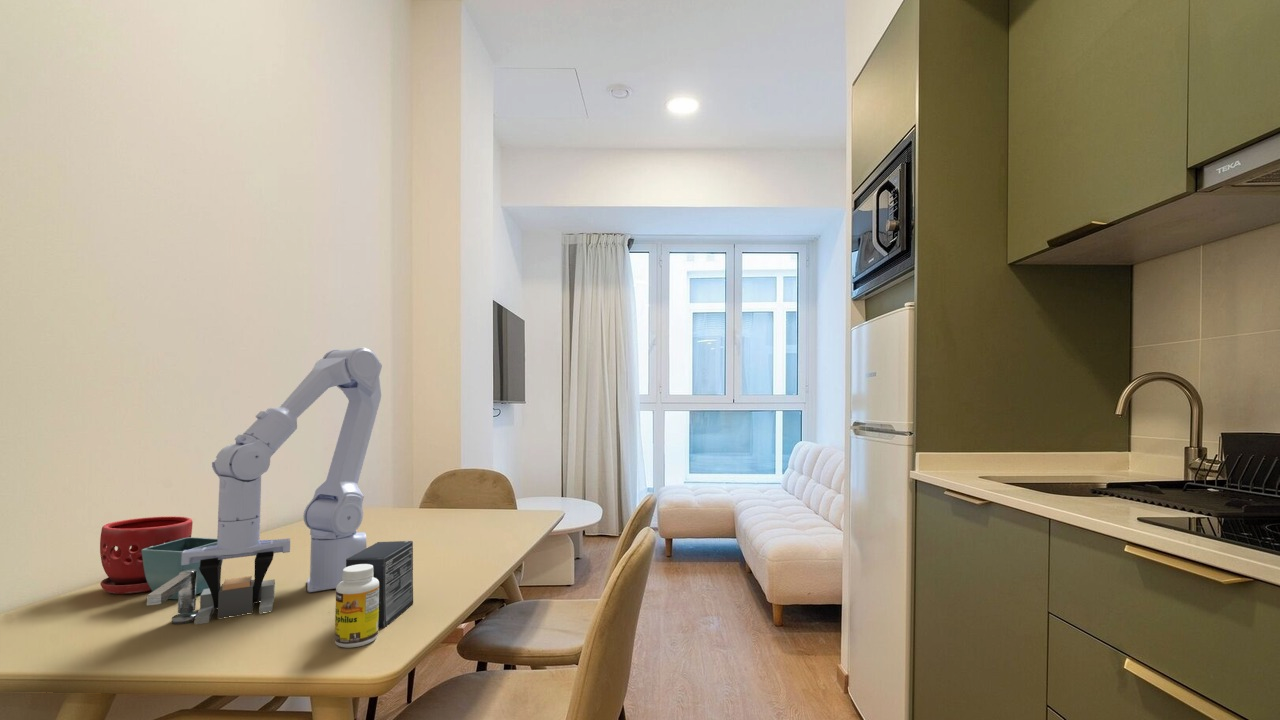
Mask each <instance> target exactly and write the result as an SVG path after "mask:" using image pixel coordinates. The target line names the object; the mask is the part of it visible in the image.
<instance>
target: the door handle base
mask: <svg viewBox="0 0 1280 720" xmlns="http://www.w3.org/2000/svg"><path fill="white" fill-rule="evenodd" d="M198 611H199V610H194V611H191V612H188V613H177V614H175V615H173V616H172V617H171V622H172V623H171V624H172V625H183V624H190V623H192V622H195V617H196V615H197V613H198Z"/></svg>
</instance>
